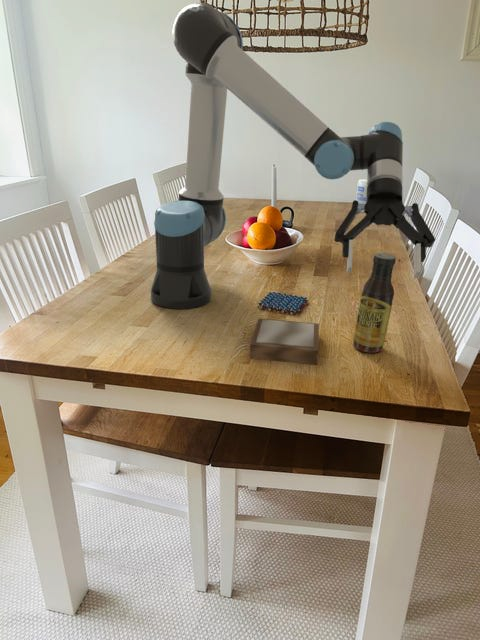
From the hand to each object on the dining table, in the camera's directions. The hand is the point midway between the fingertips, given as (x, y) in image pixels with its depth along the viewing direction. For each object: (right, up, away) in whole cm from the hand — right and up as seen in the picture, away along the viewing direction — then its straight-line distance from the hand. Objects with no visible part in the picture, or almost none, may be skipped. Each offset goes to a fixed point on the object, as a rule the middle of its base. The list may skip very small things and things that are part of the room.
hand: (383, 272), depth 100 cm
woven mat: (-18, -7, +22) cm, 29 cm away
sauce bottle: (-3, -16, +1) cm, 16 cm away
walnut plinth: (-20, -15, +1) cm, 25 cm away
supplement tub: (+32, +44, +141) cm, 152 cm away
